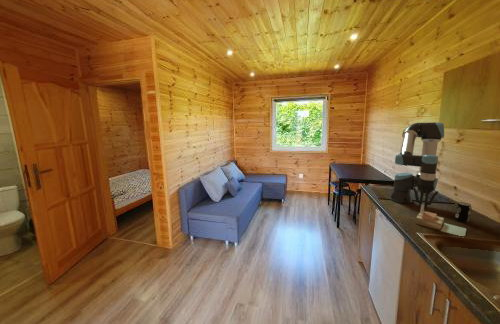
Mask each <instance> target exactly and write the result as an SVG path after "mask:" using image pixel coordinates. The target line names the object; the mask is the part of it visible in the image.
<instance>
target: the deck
mask: <svg viewBox="0 0 500 324" xmlns="http://www.w3.org/2000/svg"><path fill="white" fill-rule="evenodd" d="M444 220H445V218H444V217H442V216H438V215H437V216H436V218H435V220H434V221H431V220H427V219H423V218H422V214H420V212H419V213H418V214H417V216H416V217H415V222H414V223H415V224H417V225H420V226H424V227H427V228H431V229H435V230H439V231H441V229H442V227H443V225H444Z"/></svg>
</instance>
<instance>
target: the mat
mask: <svg viewBox="0 0 500 324" xmlns="http://www.w3.org/2000/svg"><path fill="white" fill-rule="evenodd" d="M440 232H443V233H447V234H450V235H453V236H457V235H458V236H457V237H460V236H465V237H466V232H467V228H466V227H463V226H462V227H461V226H457V225H454V224H450V223H446V222H443V225H442V227H441V229H440Z"/></svg>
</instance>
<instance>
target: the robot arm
mask: <svg viewBox="0 0 500 324" xmlns="http://www.w3.org/2000/svg"><path fill="white" fill-rule="evenodd" d="M401 136H402V142H401V146H400V151H399V153H397V154H395V158H394V164H395V165H400V166H408V167H409V166H410V167H419V170H418V172H417V173H416V174H415V175H414V174H413V173H410V172H398V173H396V174H395V175H394V179H393V181H394V183H393V188H392V189H393V190H392V192H391V194H390V195H389V200H390V201H393V202H395V203H399V204H404V205H405V204H406V205H407V204H413V203H412V202H413V198H412V194H411V191H413V192H414V196H415V197H414V198H415V202H416V203H418V209H420V210H419V211H420V212H419V213H420V214H423V213H424V212H425V211H426V210H427V209H428V206H431V205H432V203H433V201H434V199H435V197H436V196H437V195H438V194H439V191H438V190H436V189H437V185H438V181H439V179H438V178H437V168H438V164H439V163H438V162H439V155H437V150H438V144H439V142H441V141H442V139H444V138H445V125H444V123H442V122H435V121H434V122H415V123H412V124H409V125H408V126H407V127H405V129H404V130H403V131H402V134H401ZM417 138H420V140H421V141H422V149H421V155H416V154H415V155H414V149H415V142H416V139H417ZM419 192H420V197H419ZM431 193H433V194H432V196H431V197H430V200H429V195H430V194H431ZM424 194H425V196H424ZM424 197H425V199H424ZM423 201H424V202H423Z"/></svg>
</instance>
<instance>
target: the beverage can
mask: <svg viewBox="0 0 500 324" xmlns="http://www.w3.org/2000/svg"><path fill="white" fill-rule="evenodd" d="M471 211H472V204H471V203H468V202H465V201H458V203H457V205H456V209H455V214H454V219H455V221H458V222H460V223H466V224H467V223H468V222H469V221H470V217H471V213H472V212H471Z"/></svg>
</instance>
